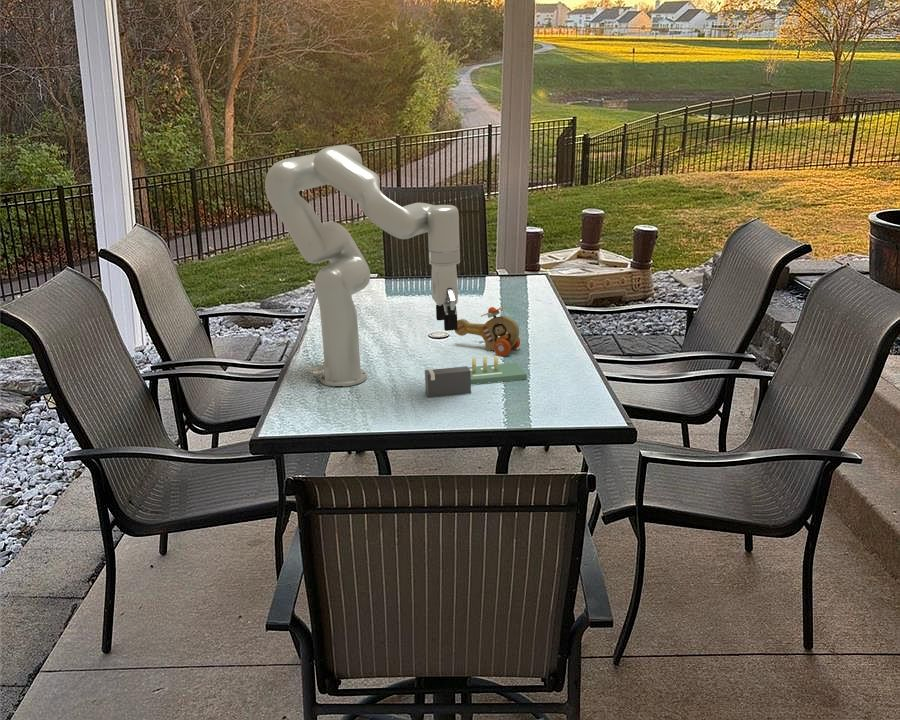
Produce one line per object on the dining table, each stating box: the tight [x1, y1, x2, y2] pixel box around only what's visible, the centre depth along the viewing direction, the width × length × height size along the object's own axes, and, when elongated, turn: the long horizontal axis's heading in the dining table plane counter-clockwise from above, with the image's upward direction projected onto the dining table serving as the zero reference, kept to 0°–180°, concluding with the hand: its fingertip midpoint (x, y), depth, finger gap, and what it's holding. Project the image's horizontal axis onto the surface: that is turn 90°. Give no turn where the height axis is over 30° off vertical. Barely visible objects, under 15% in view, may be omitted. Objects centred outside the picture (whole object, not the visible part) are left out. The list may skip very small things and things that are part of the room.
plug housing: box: [424, 366, 472, 398], centre depth 222 cm, size 11×4×6 cm, turn 102°
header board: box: [467, 355, 528, 385], centre depth 233 cm, size 20×10×6 cm, turn 102°
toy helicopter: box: [454, 306, 521, 357], centre depth 255 cm, size 8×21×14 cm, turn 60°
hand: (446, 324), depth 217 cm, fingers open, 9 cm apart
